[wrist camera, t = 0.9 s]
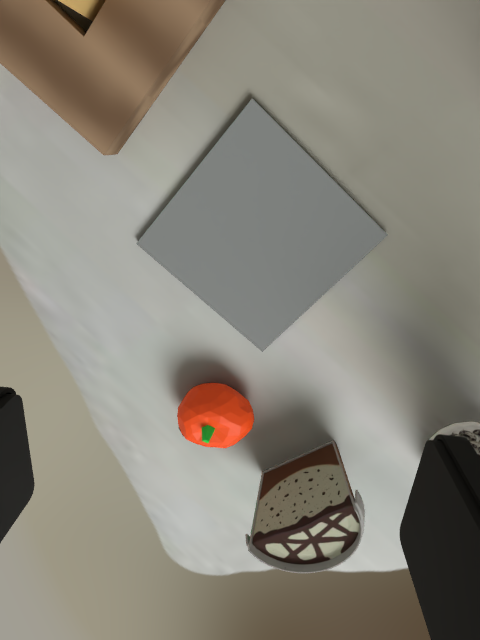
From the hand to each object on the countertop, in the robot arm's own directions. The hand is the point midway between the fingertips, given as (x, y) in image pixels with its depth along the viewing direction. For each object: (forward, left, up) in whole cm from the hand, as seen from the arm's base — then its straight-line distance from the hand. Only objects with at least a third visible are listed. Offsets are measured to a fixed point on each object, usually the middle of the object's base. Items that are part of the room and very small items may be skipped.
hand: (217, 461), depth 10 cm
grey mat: (+2, 0, -31) cm, 31 cm away
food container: (+18, +23, -31) cm, 43 cm away
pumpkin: (+18, +9, -31) cm, 37 cm away
